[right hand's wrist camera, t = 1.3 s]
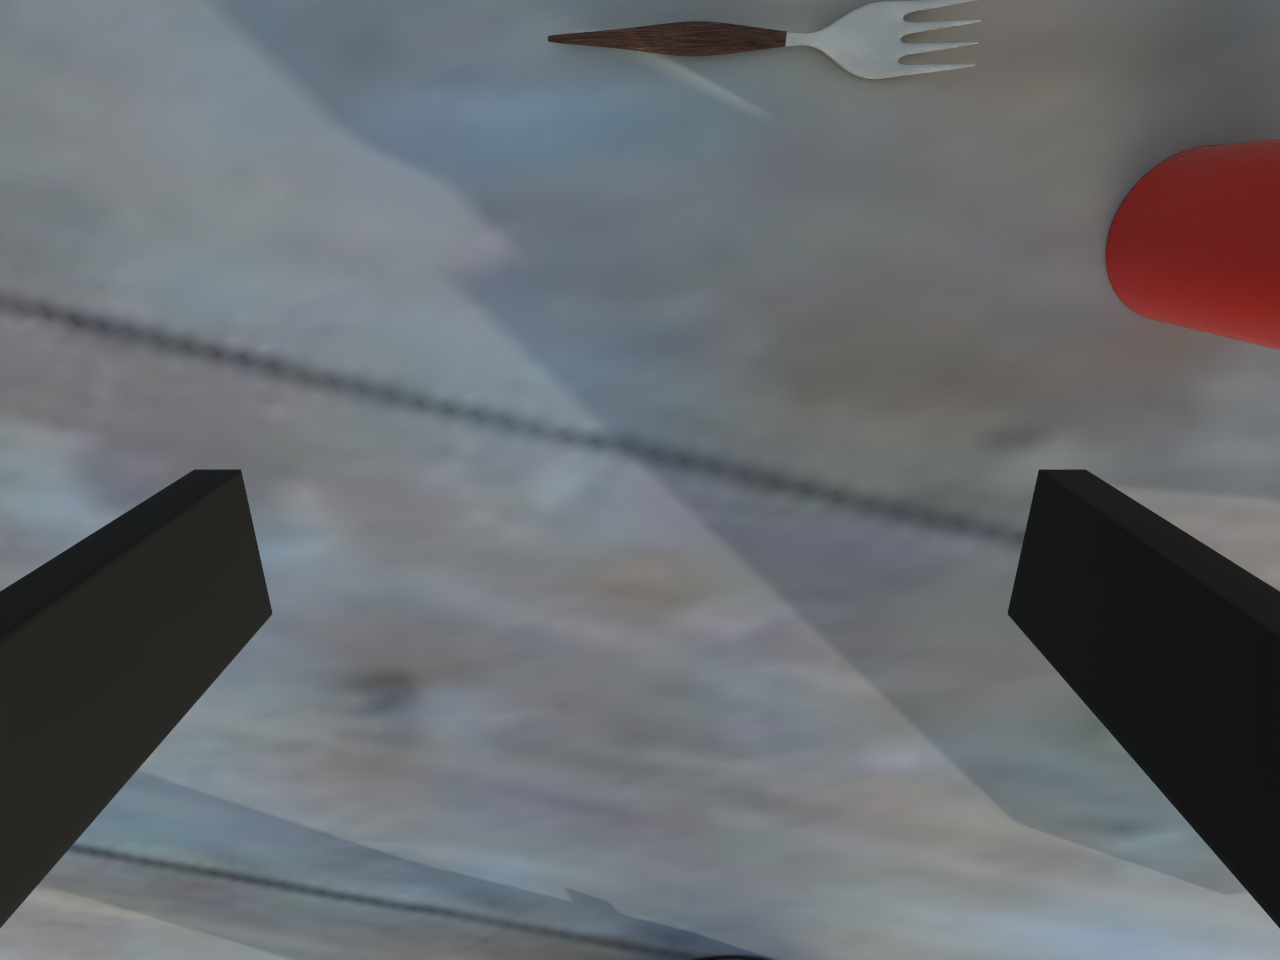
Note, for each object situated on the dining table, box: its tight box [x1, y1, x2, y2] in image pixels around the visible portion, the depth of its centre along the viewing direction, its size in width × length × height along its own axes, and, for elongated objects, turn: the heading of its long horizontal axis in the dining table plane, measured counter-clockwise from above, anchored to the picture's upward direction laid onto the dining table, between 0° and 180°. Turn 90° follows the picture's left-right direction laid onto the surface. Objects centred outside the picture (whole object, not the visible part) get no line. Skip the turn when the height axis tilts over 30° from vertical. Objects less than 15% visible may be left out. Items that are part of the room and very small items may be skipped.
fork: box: [548, 0, 982, 79], centre depth 27 cm, size 3×16×2 cm, turn 90°
